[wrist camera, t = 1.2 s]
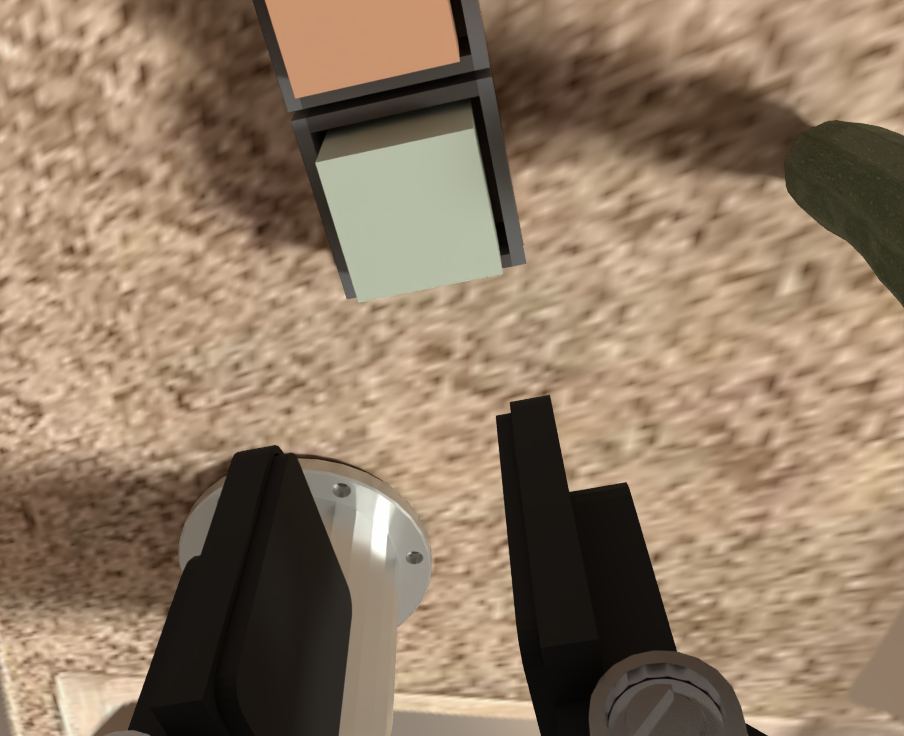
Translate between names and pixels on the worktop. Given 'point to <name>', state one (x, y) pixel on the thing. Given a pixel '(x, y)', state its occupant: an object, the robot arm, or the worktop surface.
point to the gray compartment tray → (405, 96)
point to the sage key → (410, 200)
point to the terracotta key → (360, 40)
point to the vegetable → (854, 191)
